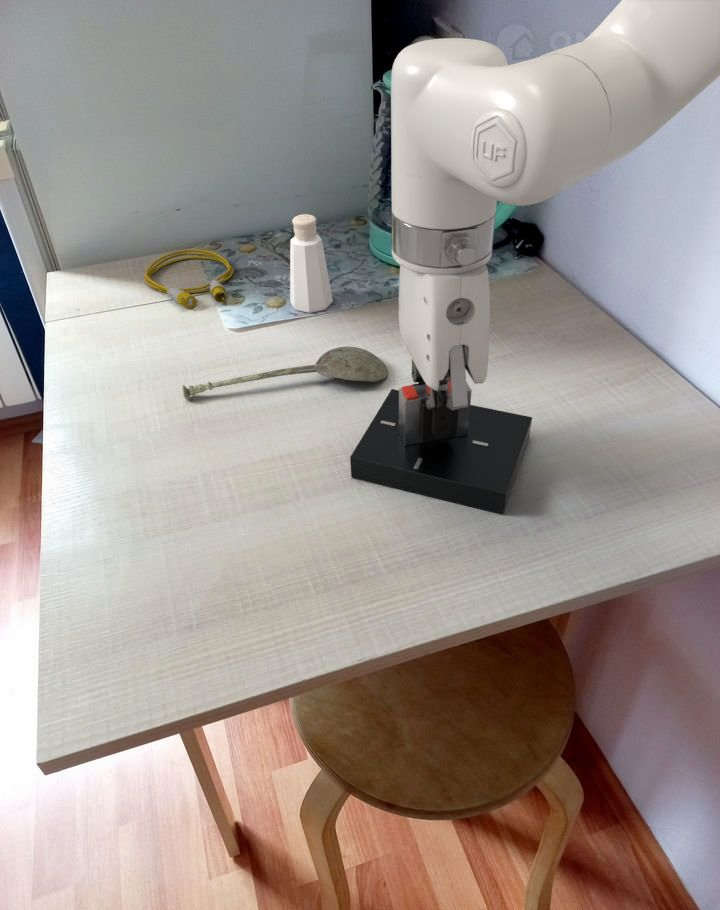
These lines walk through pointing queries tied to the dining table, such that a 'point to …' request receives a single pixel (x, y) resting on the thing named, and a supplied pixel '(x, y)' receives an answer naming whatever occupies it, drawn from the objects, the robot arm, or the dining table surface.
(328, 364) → the soupspoon
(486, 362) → the robot arm
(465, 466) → the plate
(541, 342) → the dining table surface
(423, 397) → the tap handle
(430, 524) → the dining table surface
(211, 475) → the dining table surface
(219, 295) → the extension cord
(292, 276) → the pepper shaker
